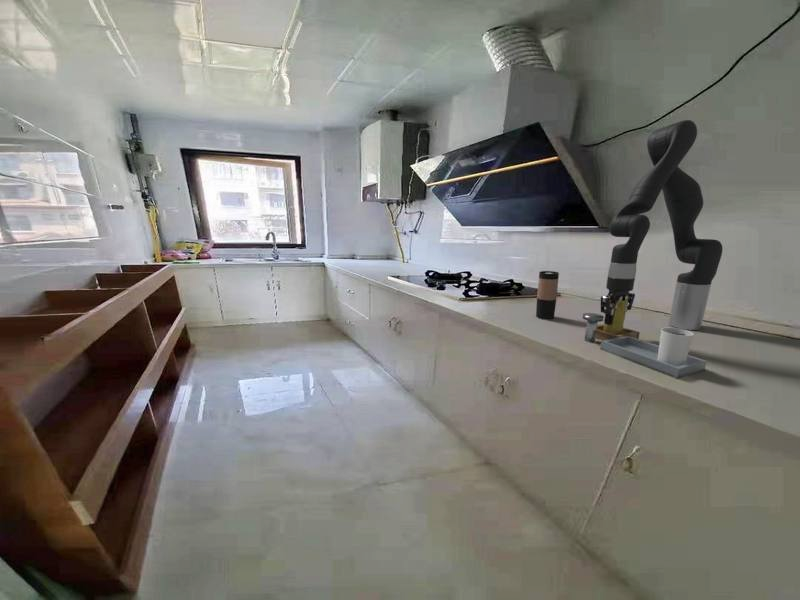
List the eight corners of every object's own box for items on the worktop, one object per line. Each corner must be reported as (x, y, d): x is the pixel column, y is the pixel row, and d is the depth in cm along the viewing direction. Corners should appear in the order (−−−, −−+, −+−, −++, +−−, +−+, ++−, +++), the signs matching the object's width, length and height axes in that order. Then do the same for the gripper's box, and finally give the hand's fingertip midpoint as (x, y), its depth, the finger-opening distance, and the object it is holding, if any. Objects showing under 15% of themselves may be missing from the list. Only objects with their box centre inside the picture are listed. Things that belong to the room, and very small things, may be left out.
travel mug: (533, 314, 135) (536, 271, 131) (550, 314, 134) (555, 270, 129) (538, 319, 128) (542, 273, 123) (557, 320, 127) (562, 273, 122)
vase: (625, 341, 103) (632, 301, 99) (606, 340, 104) (611, 300, 101) (617, 334, 109) (623, 297, 105) (598, 334, 110) (603, 296, 106)
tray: (625, 343, 101) (626, 335, 100) (704, 370, 82) (706, 360, 81) (600, 349, 97) (601, 341, 96) (676, 378, 78) (679, 368, 77)
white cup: (673, 359, 87) (680, 327, 85) (693, 370, 81) (701, 335, 78) (649, 359, 88) (655, 327, 85) (666, 370, 81) (674, 335, 79)
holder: (607, 330, 113) (608, 323, 112) (638, 340, 103) (639, 332, 102) (586, 334, 110) (587, 327, 109) (616, 345, 100) (617, 337, 99)
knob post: (588, 336, 108) (591, 312, 106) (604, 342, 102) (607, 316, 100) (575, 339, 106) (578, 314, 104) (591, 345, 101) (595, 319, 98)
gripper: (624, 272, 107) (617, 317, 111) (595, 276, 102) (589, 322, 106) (647, 275, 100) (639, 323, 104) (617, 279, 95) (610, 329, 99)
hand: (613, 322), depth 105 cm, fingers closed on vase, 5 cm apart
